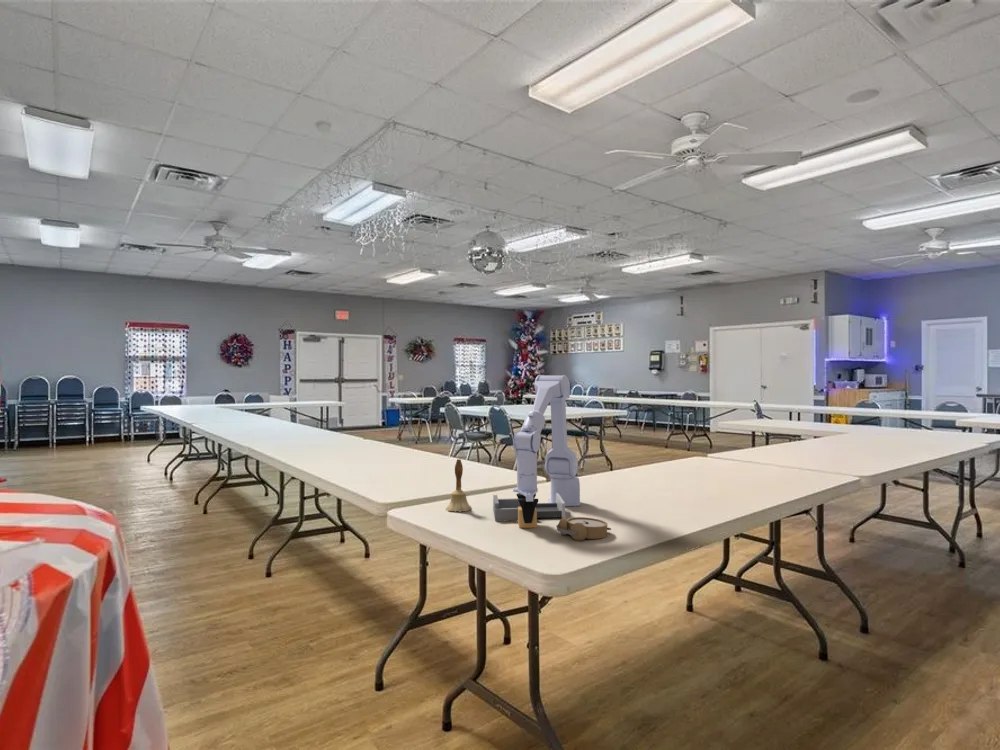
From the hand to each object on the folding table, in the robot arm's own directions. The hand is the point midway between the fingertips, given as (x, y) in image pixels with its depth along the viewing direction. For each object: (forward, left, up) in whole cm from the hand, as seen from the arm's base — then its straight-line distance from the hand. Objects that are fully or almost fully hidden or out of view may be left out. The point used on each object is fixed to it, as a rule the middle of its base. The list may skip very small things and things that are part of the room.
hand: (527, 520), depth 162 cm
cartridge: (0, 0, -1) cm, 1 cm away
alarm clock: (-14, +10, -2) cm, 17 cm away
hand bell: (+20, -20, -2) cm, 29 cm away
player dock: (+3, -12, -2) cm, 12 cm away
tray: (-6, -12, -1) cm, 14 cm away
